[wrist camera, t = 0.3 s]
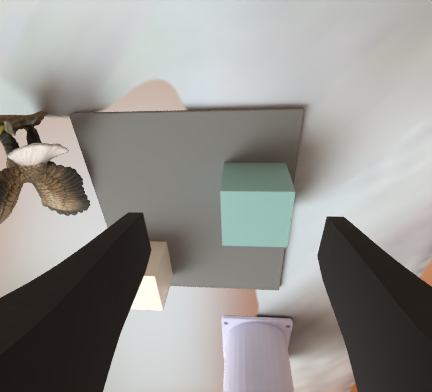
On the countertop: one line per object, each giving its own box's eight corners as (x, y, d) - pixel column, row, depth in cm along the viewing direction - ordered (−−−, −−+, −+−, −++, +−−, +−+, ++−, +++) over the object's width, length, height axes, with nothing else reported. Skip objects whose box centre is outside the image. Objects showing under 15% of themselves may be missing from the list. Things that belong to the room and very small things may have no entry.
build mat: (278, 286, 27) (278, 290, 26) (128, 281, 28) (127, 284, 28) (302, 107, 17) (303, 109, 17) (72, 112, 19) (68, 114, 18)
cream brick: (172, 274, 27) (163, 310, 23) (130, 273, 27) (114, 308, 24) (166, 241, 24) (154, 276, 21) (119, 240, 24) (100, 274, 21)
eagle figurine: (-57, 102, 18) (-22, 226, 21) (-114, 119, 12) (-51, 287, 15) (78, 109, 22) (88, 212, 25) (87, 124, 16) (99, 256, 19)
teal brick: (280, 212, 21) (287, 247, 18) (225, 211, 22) (222, 245, 18) (285, 162, 19) (295, 191, 16) (223, 162, 19) (220, 191, 16)
